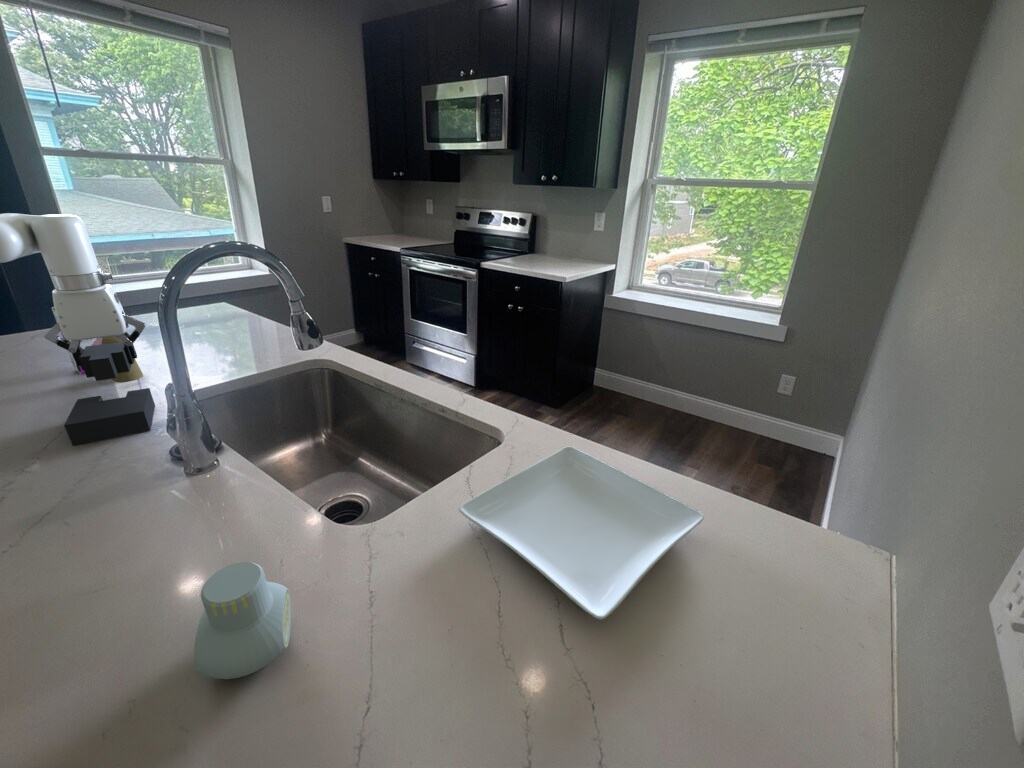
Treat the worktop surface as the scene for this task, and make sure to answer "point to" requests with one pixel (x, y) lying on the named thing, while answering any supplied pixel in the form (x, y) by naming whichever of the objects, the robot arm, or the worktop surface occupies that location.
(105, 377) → the pad
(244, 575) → the air freshener
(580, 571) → the square plate
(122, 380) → the cork
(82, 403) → the notch pad
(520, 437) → the worktop surface
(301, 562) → the worktop surface
